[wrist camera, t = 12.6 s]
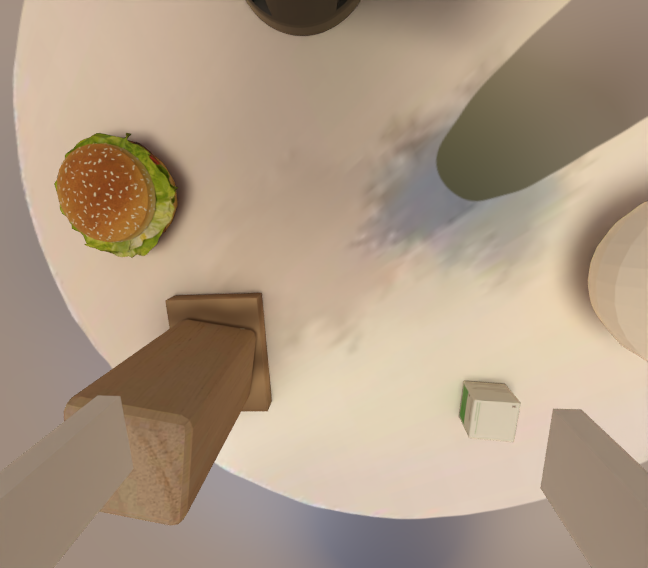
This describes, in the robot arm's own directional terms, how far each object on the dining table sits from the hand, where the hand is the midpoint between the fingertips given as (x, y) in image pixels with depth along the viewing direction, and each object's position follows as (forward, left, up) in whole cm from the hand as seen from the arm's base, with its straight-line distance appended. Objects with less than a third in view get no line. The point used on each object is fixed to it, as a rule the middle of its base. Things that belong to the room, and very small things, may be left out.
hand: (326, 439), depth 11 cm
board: (+12, -17, -35) cm, 41 cm away
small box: (+20, +18, -35) cm, 44 cm away
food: (-9, -26, -35) cm, 45 cm away
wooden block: (+12, -17, -32) cm, 39 cm away
